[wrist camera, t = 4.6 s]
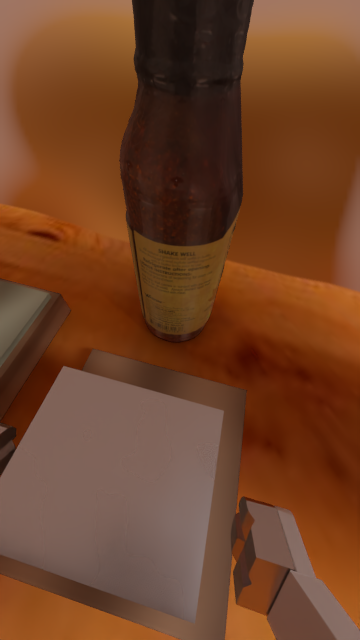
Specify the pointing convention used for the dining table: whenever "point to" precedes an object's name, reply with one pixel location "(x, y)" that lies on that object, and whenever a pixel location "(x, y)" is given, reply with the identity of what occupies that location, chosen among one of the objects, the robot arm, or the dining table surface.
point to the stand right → (215, 579)
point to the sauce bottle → (184, 156)
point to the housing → (114, 490)
